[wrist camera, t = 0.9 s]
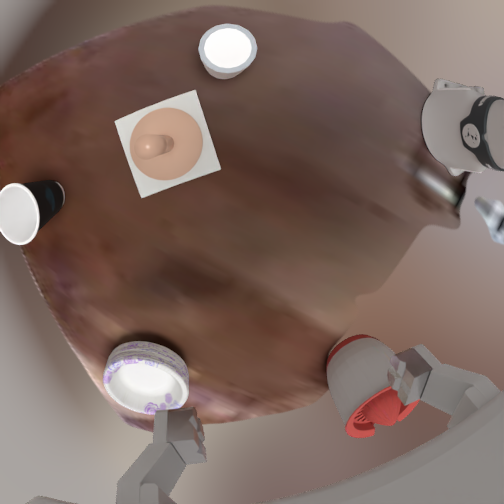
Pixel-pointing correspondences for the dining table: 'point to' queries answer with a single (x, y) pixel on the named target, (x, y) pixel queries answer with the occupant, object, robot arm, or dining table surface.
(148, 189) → the mat
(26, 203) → the dixie cup
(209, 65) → the white round tub
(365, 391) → the citrus juicer
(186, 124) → the peg on round base
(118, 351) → the paper bowls
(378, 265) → the dining table surface
